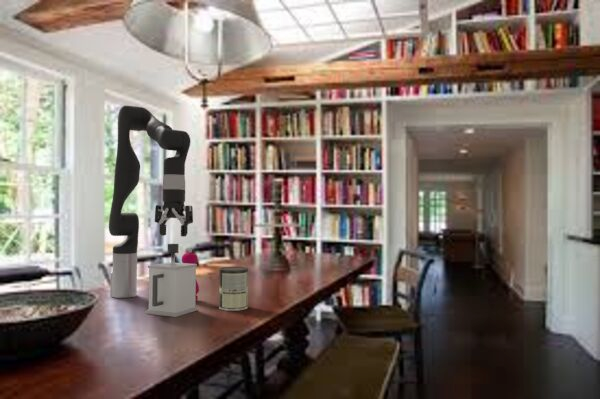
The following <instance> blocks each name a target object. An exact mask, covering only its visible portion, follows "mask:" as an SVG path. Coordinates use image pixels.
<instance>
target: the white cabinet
mask: <svg viewBox="0 0 600 399" xmlns="http://www.w3.org/2000/svg"><path fill="white" fill-rule="evenodd" d="M197 267H198V264H197V263H196V264H188V263H182V262H175V265H171V261H169V262H163V263H158V264H150V265H147V268H148V309H146V314H147V315H155V316H156V315H157V316H165V317H172V318H177V317H180V316H183V315H187V314H190V313H192V312H195V311H198V306H196V302H195V299H196V296H197V294H196V281H197Z"/></svg>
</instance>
